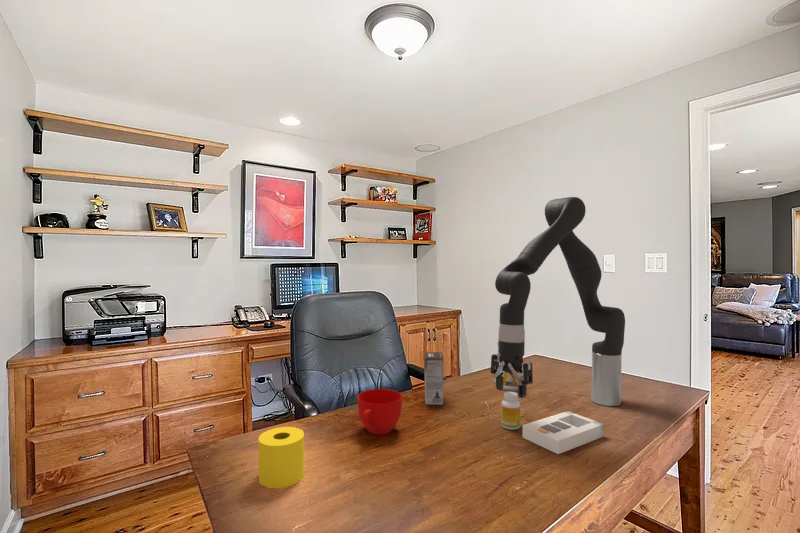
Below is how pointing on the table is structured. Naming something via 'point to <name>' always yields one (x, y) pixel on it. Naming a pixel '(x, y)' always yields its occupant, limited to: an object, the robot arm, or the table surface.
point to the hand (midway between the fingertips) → (510, 393)
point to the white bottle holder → (563, 431)
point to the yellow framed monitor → (509, 382)
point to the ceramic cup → (379, 410)
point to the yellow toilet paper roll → (281, 457)
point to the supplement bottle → (510, 411)
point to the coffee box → (434, 378)
